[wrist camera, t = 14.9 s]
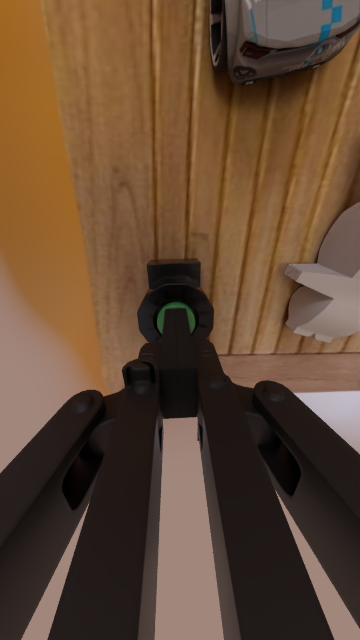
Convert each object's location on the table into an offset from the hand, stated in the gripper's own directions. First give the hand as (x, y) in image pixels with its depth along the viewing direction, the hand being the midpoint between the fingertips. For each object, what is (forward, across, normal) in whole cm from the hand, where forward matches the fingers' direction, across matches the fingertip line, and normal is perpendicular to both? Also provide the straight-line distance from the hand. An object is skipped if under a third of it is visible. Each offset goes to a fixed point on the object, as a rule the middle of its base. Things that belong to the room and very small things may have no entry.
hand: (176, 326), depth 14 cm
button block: (+5, 0, 0) cm, 5 cm away
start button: (+2, 0, 0) cm, 2 cm away
